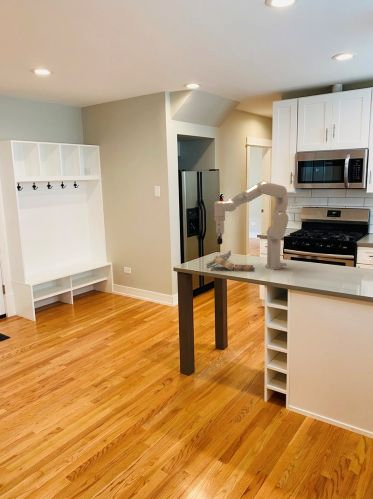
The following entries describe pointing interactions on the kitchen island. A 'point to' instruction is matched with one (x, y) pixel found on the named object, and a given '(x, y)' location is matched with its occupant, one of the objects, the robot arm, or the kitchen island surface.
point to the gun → (220, 257)
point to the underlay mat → (226, 269)
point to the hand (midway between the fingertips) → (219, 243)
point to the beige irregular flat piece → (223, 262)
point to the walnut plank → (243, 268)
